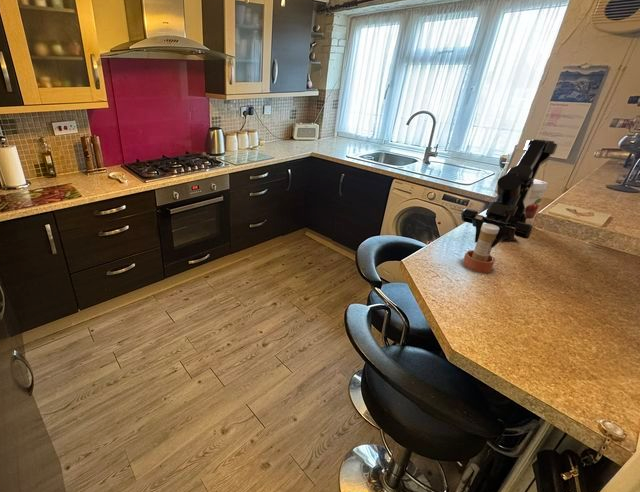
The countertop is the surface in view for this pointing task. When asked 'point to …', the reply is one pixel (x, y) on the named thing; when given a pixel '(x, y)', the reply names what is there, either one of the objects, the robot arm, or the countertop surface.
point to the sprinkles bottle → (485, 242)
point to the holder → (477, 263)
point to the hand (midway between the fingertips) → (483, 244)
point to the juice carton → (534, 199)
